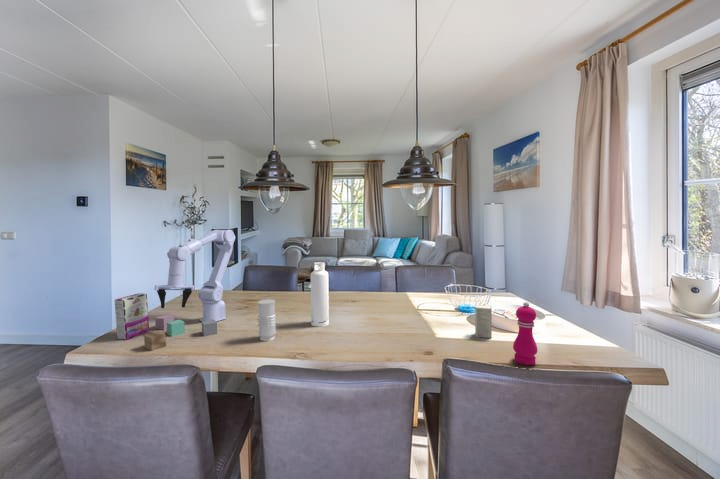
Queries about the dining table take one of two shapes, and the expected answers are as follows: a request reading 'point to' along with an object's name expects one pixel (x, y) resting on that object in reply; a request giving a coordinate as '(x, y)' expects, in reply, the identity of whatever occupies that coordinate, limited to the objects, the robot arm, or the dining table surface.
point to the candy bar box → (131, 316)
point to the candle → (267, 320)
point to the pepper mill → (525, 336)
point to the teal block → (175, 327)
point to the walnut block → (155, 340)
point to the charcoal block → (209, 327)
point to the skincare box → (483, 321)
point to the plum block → (163, 321)
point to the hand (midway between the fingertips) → (173, 307)
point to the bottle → (319, 295)
